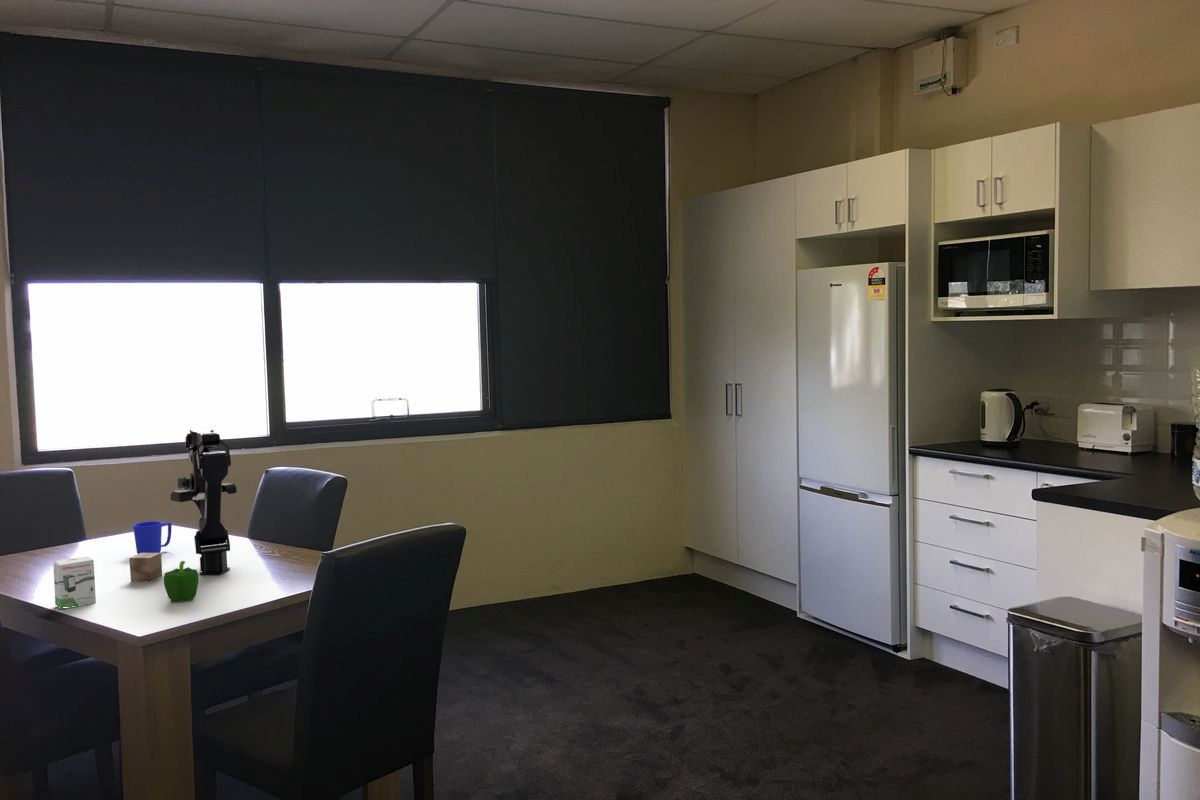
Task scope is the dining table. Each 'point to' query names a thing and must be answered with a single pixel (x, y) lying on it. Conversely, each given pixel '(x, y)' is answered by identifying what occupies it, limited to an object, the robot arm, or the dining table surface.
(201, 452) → the robot arm
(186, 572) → the bell pepper
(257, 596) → the dining table surface
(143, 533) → the mug
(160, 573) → the walnut block
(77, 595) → the ink box
